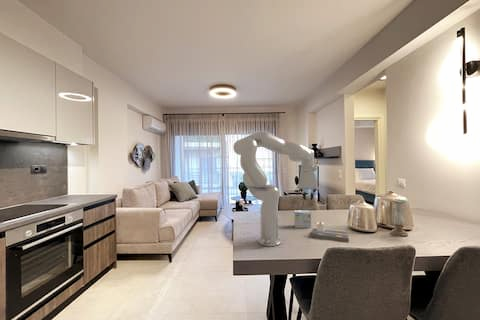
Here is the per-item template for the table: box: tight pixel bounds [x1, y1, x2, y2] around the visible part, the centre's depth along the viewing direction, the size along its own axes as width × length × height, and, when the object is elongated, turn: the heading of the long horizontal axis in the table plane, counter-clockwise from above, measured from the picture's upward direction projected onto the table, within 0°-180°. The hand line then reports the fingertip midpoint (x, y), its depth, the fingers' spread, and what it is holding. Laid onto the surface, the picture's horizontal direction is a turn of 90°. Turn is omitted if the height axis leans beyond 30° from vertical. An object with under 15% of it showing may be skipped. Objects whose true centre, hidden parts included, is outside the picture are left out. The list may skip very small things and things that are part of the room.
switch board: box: [310, 227, 350, 243], centre depth 134 cm, size 12×20×3 cm, turn 66°
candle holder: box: [389, 199, 409, 237], centre depth 137 cm, size 9×9×20 cm
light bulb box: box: [293, 209, 312, 229], centre depth 155 cm, size 11×7×11 cm, turn 84°
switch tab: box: [316, 221, 326, 232], centre depth 136 cm, size 4×4×6 cm
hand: (308, 199), depth 139 cm, fingers open, 3 cm apart
